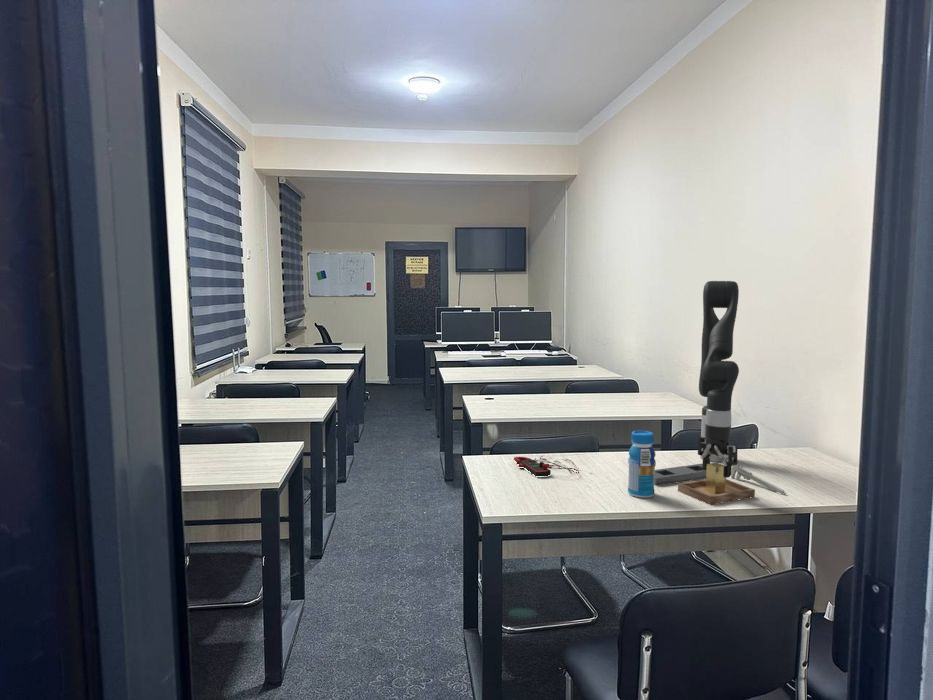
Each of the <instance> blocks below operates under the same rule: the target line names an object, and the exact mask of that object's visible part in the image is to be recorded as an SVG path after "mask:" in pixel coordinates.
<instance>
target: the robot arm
mask: <svg viewBox="0 0 933 700" xmlns="http://www.w3.org/2000/svg"><path fill="white" fill-rule="evenodd" d="M739 291H740V290H739V284H738V283H737V282H736V281H733V280H708V281H706V282H705V284H704V286H703V291H702V305H703V307H702V308H703V309H702V310H703V313H702V314H703V315H702V316H703V321H702V334H701V361H700V362H701V364H700V372H699V379H698V392H699V395H700V396H701V397H704V398H706V399H707V400H706V405H704V406H702V408H701V424H700V425H701V428H700V431H701V433H700V437H698V442H697V443H698V445H697V455H698V456H700V459H702V463H703V470H707V464H710V463H711V462H713V463H720V462H722V463H723V465H725V466H724V470H723V477H725V479H727V478H730V477H731V470H732V467H733V465H737V463H738V446H737V445H730V443H729V442H730V439H731V436H732V399H733V398H732V397H733V391H734V388H735V385H736V382H737V379H738V377H739V373H740V369H739V365H738V364H737V363H736V361H733V360H728V359H730V358H731V357H732V355H733V353H734V352H733V350H734V329H735V323H736V319H737V312H738V307H739V306H738V305H739V297H740V296H739V293H740V292H739ZM714 309H726V311H725V312H724V314H723V316H722V317H721V318H720V319H719V318H718V316H717V314H716V312H715V310H714ZM738 464H739V463H738Z"/></svg>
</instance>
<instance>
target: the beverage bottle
mask: <svg viewBox="0 0 933 700" xmlns="http://www.w3.org/2000/svg"><path fill="white" fill-rule="evenodd" d="M630 439H631V443H632V445H631V446H630V448H629V450H628V455H629V457H628V460H627V463H628V487H627V494H629V495H630V496H632V497H635V498H640V499H642V498H643V499H645V498H647V499H648V498H652V497H653V496H655V485H654V476H655V470H656V469H655V468H656V465H657V462H656V459H655V457H656V451H655V449H654V447H653V445H654V439H655V437H654V433H653V432H652V431H648V430H633V431H632V432H631V438H630Z"/></svg>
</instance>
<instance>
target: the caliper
mask: <svg viewBox="0 0 933 700" xmlns="http://www.w3.org/2000/svg"><path fill="white" fill-rule="evenodd" d="M730 477H731V479H732V478H733V479H735V481H739V480H740V478H741V477H742V478H743V479H745V480H747V481H754V482H756V483H757V484H760V485H761V486H763V487H765V488H767V489H769V490H771V491H772V490H773V491H772V492H774V491H776V492H779V493H782V494H781V495H783V494H785V495H786V494H788V493H787V492H785V490H784V489H782V488H780V487H778V486H776V485H774V484H772V483H770V482H768V481H767V480H764V479H762V478H761V477H759V476H756V475H754V474H753V472H751V471H749V470H748V469H746V468H744V467H741V463H737V465H732V467H731V476H730ZM738 479H739V480H738ZM776 492H775V493H776ZM779 493H778V494H779ZM785 495H784V496H785ZM786 496H787V495H786Z"/></svg>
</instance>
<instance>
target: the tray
mask: <svg viewBox="0 0 933 700" xmlns="http://www.w3.org/2000/svg"><path fill="white" fill-rule="evenodd" d="M679 491H680V492H679ZM677 492H679V493H681V492H682V494H684V495H686V496H689V497H690V496H691V497H690V498H693V499H696V500H697V499H698V501H700V502H702V501H703V502H702V503H704V502H705V503H704V504H707V505H709V504H713V505H717V504H716V503H719V504H722V503H721V502H725V503H729V502H728V501H731V502H734V501H733V500H737V501H739V500H738V499H742V500H745V499H744V498H748V499H751V498H750V497H754V498H755V496H756V493H755V492H756V489H754V488H751V487H749V486H745V485H743V484H741V483H738V482H735V481H732V480H730V479H727V478H725V492H722V493H716V494H715V493H712V492H710V491H707V490H706V478H705V479H698V480H691V481H685V482H678V483H677Z"/></svg>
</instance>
